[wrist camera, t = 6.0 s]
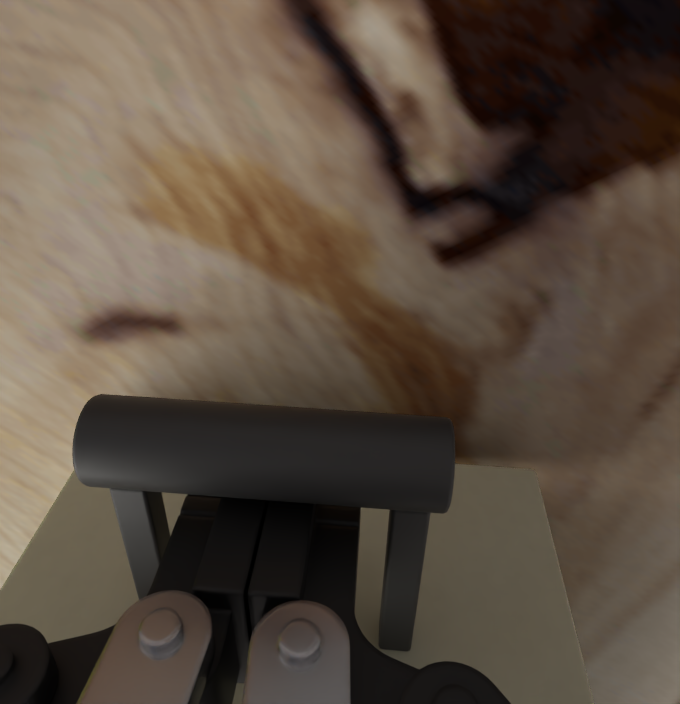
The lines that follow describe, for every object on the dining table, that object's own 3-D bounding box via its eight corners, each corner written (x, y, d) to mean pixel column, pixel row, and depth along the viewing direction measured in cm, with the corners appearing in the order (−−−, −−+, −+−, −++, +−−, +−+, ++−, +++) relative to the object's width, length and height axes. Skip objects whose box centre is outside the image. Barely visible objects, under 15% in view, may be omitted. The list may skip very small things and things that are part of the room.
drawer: (43, 252, 13) (-296, 552, 7) (586, 282, 13) (780, 645, 6) (164, 702, 24) (76, 988, 17) (465, 731, 23) (490, 1041, 17)
